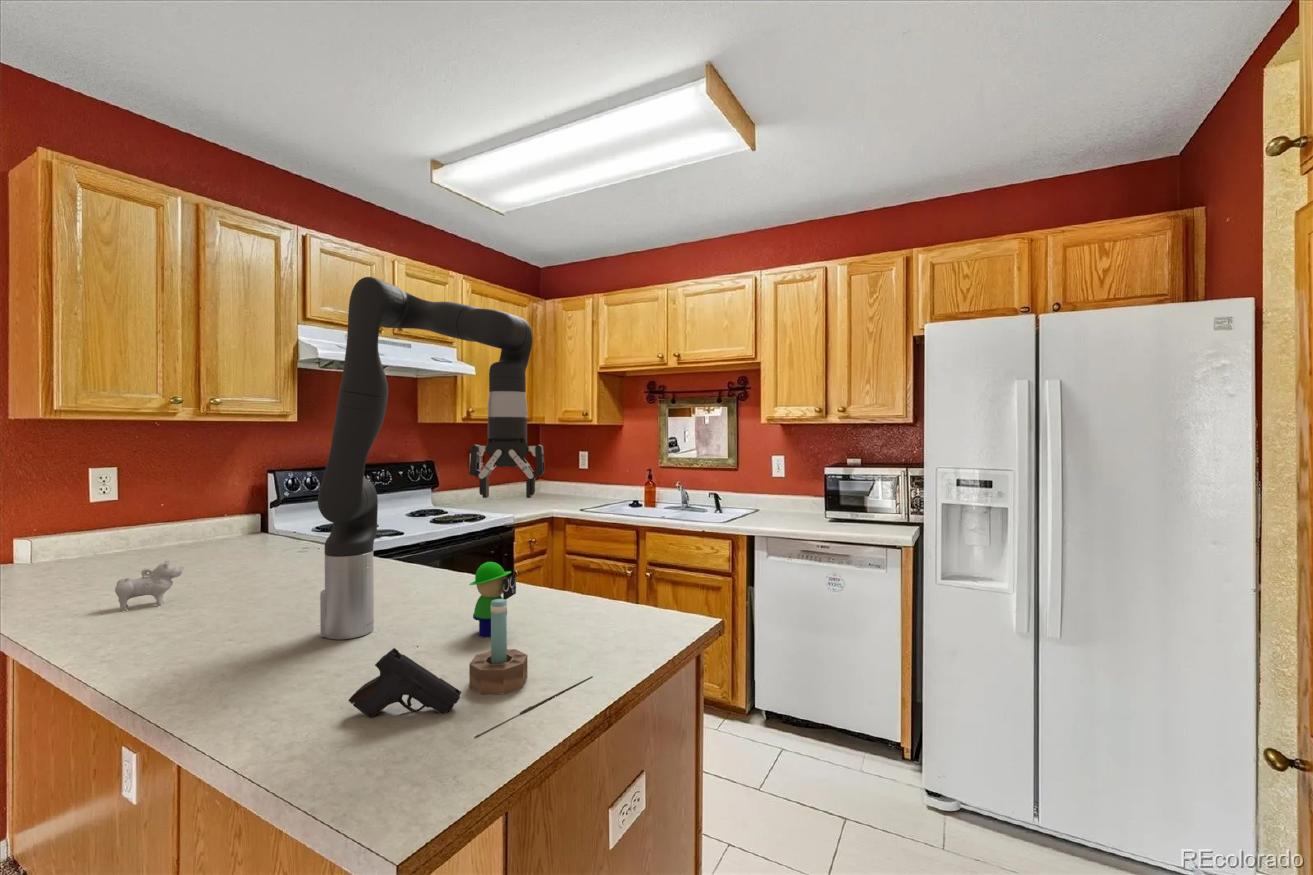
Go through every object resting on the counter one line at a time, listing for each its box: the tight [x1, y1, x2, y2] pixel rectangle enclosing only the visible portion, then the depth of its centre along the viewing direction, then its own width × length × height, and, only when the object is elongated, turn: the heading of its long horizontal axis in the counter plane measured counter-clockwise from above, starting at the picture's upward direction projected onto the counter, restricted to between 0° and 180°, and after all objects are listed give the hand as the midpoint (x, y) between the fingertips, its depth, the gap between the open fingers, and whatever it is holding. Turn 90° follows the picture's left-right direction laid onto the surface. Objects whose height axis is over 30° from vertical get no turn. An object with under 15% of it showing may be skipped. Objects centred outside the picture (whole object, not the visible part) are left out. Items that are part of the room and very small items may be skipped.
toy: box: [469, 561, 517, 638], centre depth 124 cm, size 9×9×15 cm
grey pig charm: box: [114, 559, 185, 613], centre depth 142 cm, size 5×13×11 cm, turn 131°
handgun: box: [348, 647, 462, 718], centre depth 89 cm, size 3×14×10 cm
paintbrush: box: [473, 676, 594, 738], centre depth 91 cm, size 1×25×1 cm, turn 144°
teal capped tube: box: [490, 599, 508, 664], centre depth 99 cm, size 3×3×14 cm
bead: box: [468, 648, 528, 695], centre depth 99 cm, size 9×9×4 cm
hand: (507, 497), depth 114 cm, fingers open, 8 cm apart
